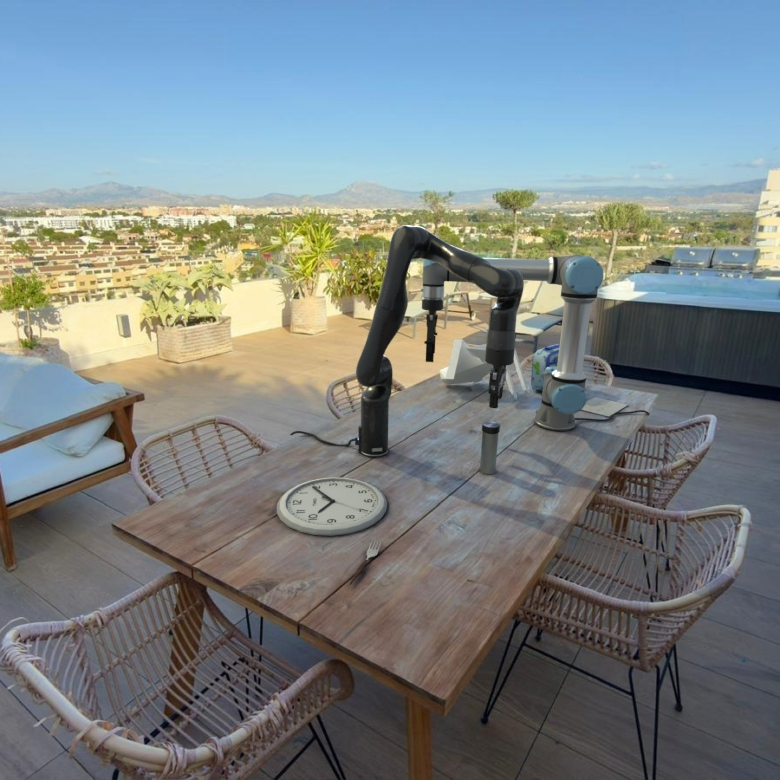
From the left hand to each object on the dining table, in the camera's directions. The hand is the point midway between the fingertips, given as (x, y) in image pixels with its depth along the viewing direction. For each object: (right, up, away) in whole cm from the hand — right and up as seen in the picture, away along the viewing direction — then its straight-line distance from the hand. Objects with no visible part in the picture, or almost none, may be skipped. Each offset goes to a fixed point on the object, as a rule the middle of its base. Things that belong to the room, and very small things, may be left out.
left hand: (495, 402), depth 144 cm
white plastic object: (+12, +2, +99) cm, 99 cm away
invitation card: (+62, -4, +82) cm, 103 cm away
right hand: (-15, +15, +45) cm, 50 cm away
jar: (+2, -22, +20) cm, 30 cm away
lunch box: (+48, +4, +106) cm, 117 cm away
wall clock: (-45, -28, -2) cm, 53 cm away
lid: (+2, -7, +16) cm, 17 cm away
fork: (-35, -36, -27) cm, 57 cm away
